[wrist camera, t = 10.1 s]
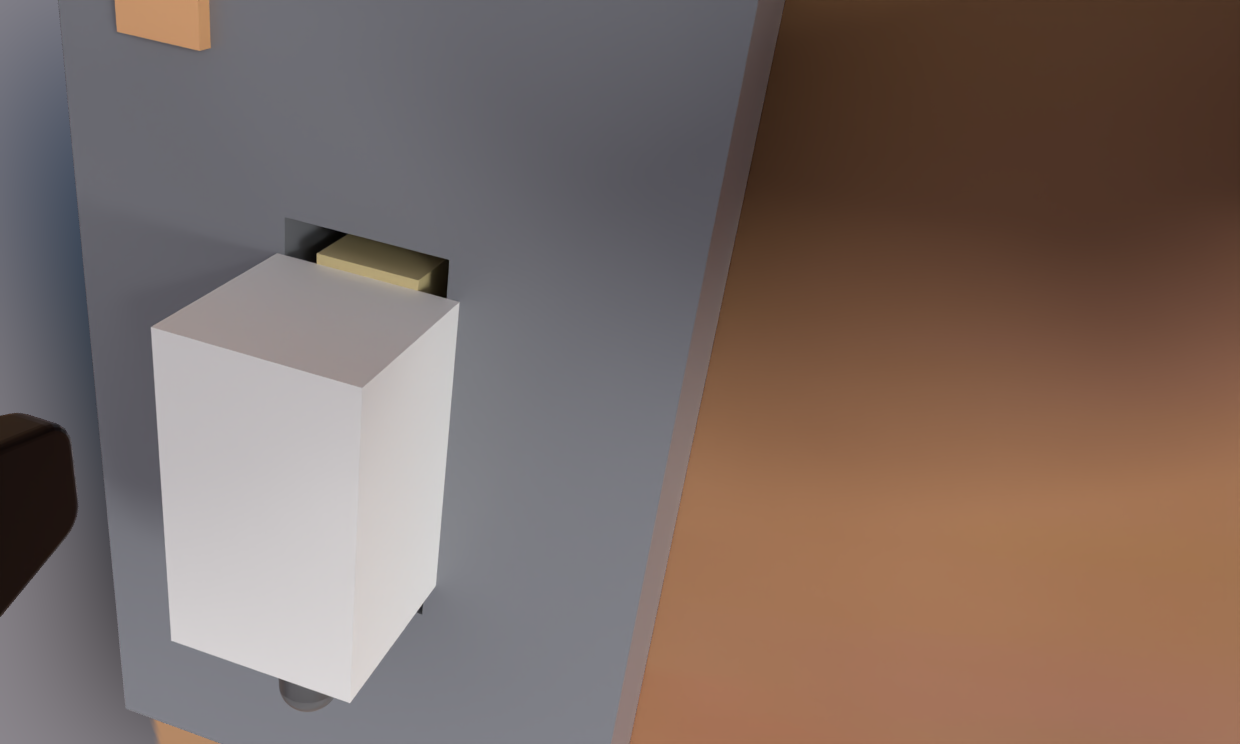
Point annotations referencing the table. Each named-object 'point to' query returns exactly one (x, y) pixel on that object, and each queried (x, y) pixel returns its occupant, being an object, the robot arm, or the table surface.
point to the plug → (306, 461)
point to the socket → (478, 278)
